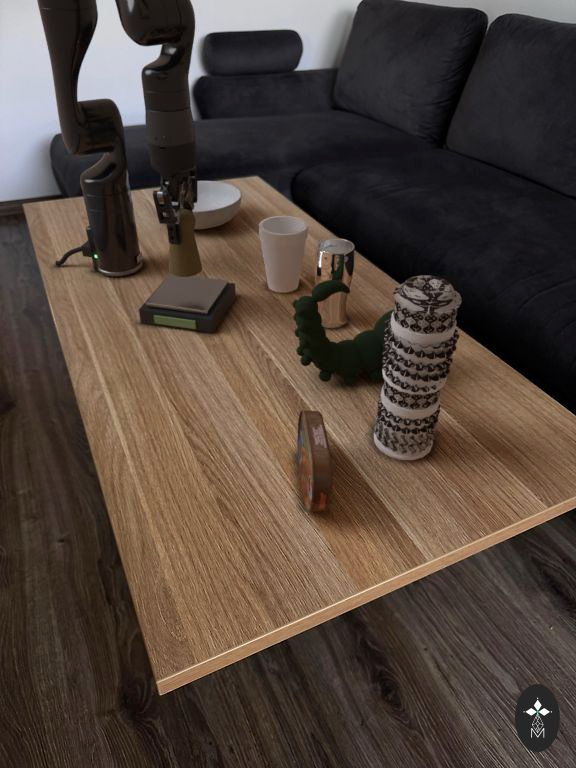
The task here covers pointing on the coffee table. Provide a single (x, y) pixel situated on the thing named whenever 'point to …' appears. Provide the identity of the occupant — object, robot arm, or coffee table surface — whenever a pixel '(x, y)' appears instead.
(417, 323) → the white patterned cylinder
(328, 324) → the shiny silver cylinder
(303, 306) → the toy figurine
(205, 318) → the scale
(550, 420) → the coffee table surface
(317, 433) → the tin
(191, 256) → the olive game pawn
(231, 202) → the serving bowl
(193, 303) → the scale platform
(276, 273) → the foam cup
